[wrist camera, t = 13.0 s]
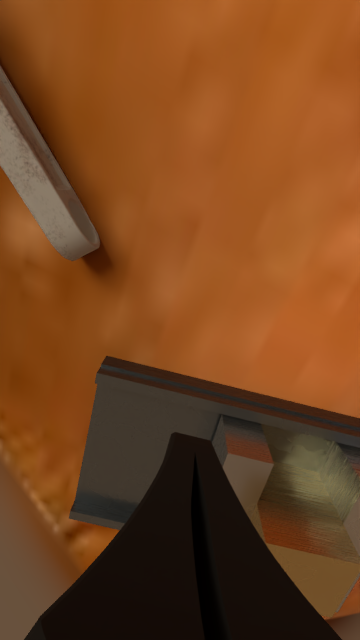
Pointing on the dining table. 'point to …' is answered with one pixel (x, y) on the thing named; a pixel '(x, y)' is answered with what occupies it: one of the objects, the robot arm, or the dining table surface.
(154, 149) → the dining table surface
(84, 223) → the wrench
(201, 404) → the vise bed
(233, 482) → the bar
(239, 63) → the dining table surface
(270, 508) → the brass block
